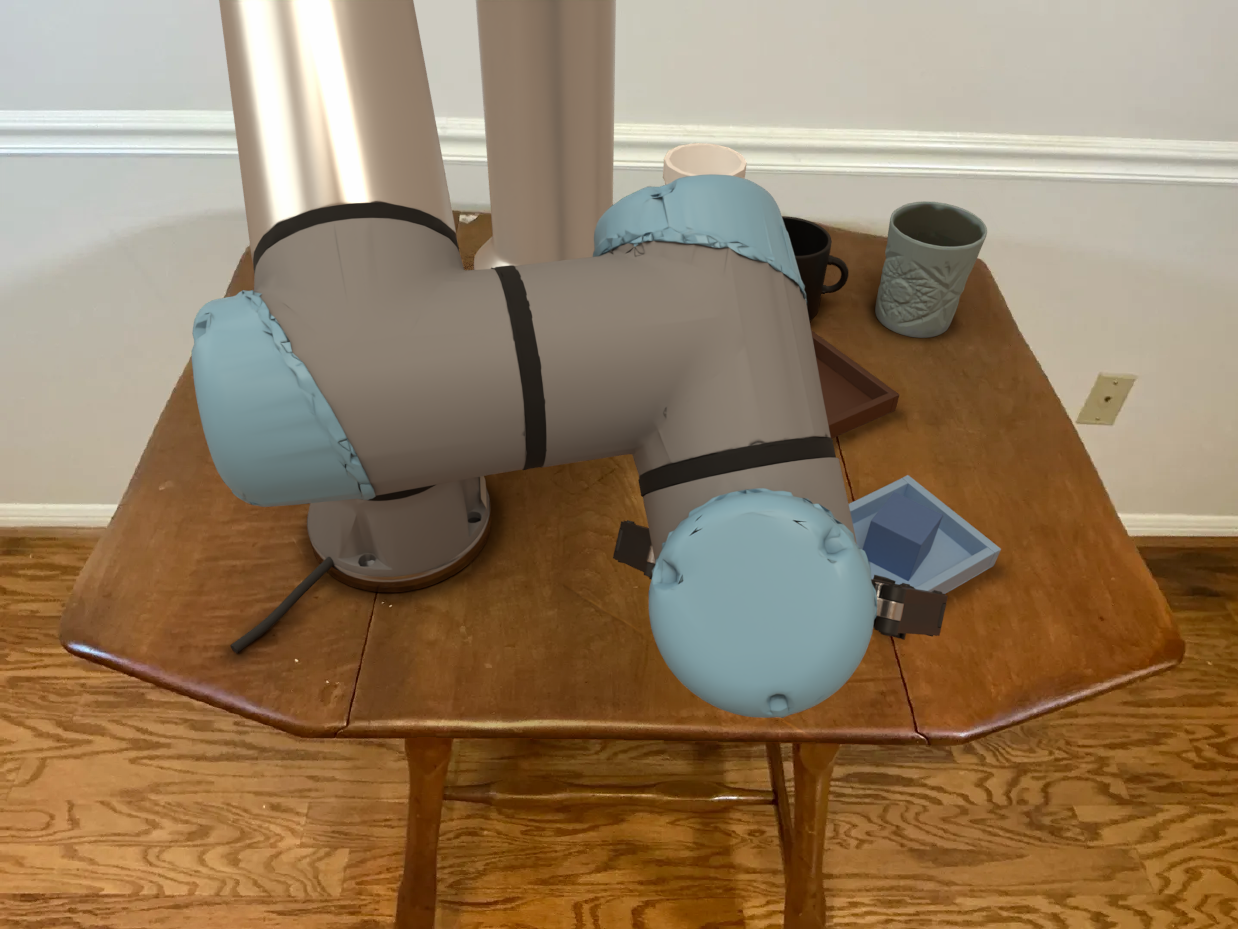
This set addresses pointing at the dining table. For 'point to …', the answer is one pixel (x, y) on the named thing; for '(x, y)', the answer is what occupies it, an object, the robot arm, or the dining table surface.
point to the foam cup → (702, 161)
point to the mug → (813, 259)
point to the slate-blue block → (901, 535)
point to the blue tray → (953, 548)
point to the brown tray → (849, 390)
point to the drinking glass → (927, 266)
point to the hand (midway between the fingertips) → (776, 572)
